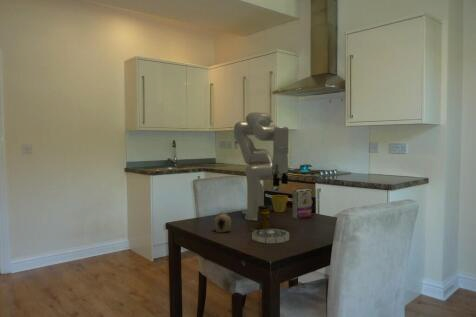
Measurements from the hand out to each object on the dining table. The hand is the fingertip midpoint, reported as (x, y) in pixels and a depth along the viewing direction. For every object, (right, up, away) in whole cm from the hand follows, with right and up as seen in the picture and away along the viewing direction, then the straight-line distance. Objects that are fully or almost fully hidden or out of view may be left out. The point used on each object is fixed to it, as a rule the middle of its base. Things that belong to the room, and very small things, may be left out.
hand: (280, 184), depth 191 cm
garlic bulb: (-29, -23, -3) cm, 37 cm away
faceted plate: (-6, -24, -16) cm, 29 cm away
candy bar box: (+16, -22, +31) cm, 41 cm away
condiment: (-9, -23, +1) cm, 25 cm away
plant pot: (+5, -21, +49) cm, 54 cm away
